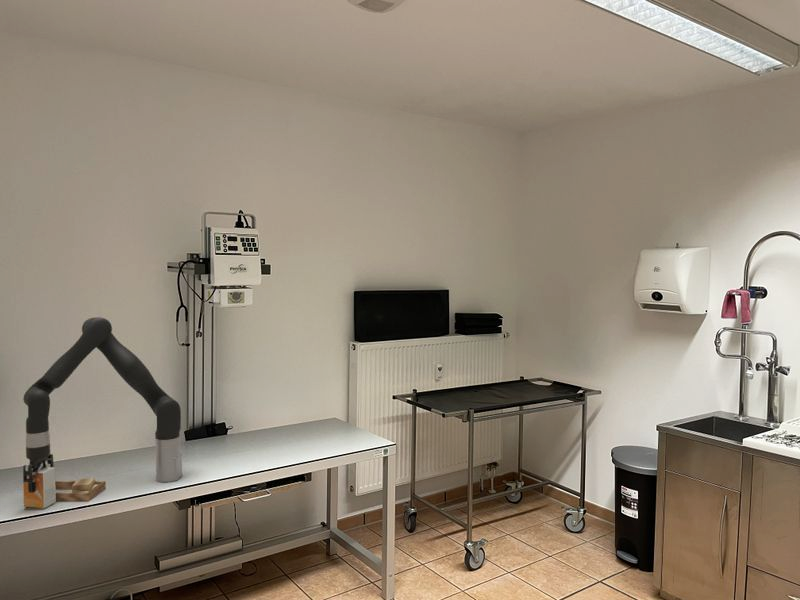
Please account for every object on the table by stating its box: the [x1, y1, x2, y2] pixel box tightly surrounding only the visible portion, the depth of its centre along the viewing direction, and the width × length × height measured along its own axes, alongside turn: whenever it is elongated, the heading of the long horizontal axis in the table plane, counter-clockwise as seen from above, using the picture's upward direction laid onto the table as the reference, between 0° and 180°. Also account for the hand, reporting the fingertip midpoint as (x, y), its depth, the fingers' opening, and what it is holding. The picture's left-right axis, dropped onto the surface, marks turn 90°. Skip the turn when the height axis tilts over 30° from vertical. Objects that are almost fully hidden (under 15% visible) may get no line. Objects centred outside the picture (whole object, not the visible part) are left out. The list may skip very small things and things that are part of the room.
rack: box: [55, 480, 107, 503], centre depth 229 cm, size 23×13×6 cm, turn 90°
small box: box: [22, 466, 57, 509], centre depth 218 cm, size 8×6×13 cm
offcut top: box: [71, 477, 96, 492], centre depth 229 cm, size 6×7×2 cm
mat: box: [24, 504, 53, 511], centre depth 218 cm, size 7×7×1 cm
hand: (39, 487), depth 218 cm, fingers open, 8 cm apart
